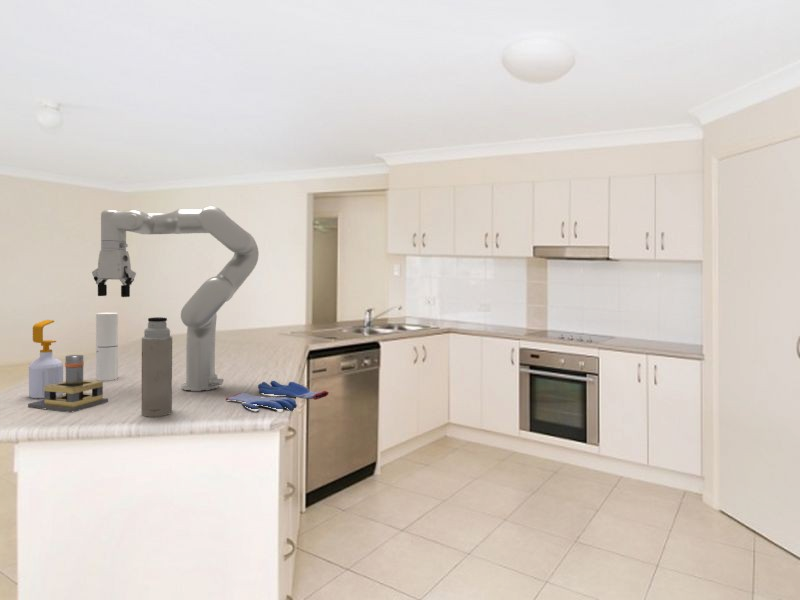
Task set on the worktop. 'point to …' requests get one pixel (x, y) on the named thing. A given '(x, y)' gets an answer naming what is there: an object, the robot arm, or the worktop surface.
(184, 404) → the worktop surface
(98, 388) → the tan frame fixture
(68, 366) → the tube
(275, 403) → the pair of gloves
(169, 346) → the thermos bottle
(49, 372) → the soap bottle
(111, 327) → the cylindrical container
